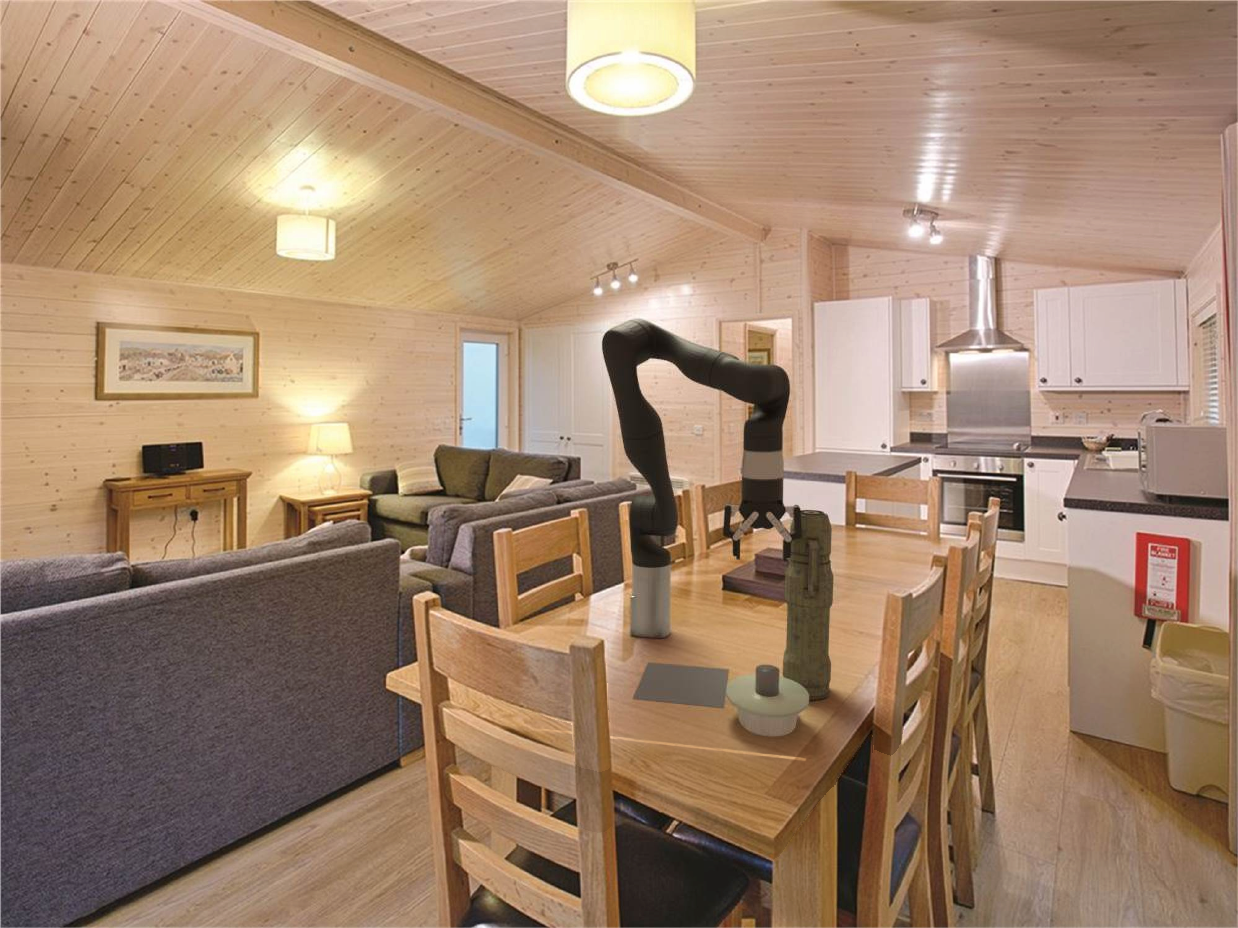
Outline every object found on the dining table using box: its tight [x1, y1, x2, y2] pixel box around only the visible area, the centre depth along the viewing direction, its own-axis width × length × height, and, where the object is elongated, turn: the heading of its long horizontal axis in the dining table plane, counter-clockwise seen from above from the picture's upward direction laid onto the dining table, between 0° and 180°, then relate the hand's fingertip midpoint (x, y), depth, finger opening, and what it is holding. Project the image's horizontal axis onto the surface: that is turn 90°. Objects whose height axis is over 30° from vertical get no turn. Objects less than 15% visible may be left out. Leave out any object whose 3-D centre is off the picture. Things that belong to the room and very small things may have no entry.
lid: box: [725, 664, 810, 717], centre depth 113 cm, size 14×14×5 cm
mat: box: [632, 661, 730, 709], centre depth 129 cm, size 17×17×1 cm
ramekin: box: [736, 707, 799, 737], centre depth 113 cm, size 11×11×5 cm
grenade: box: [782, 509, 835, 701], centre depth 125 cm, size 9×12×35 cm
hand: (761, 559), depth 122 cm, fingers open, 8 cm apart
